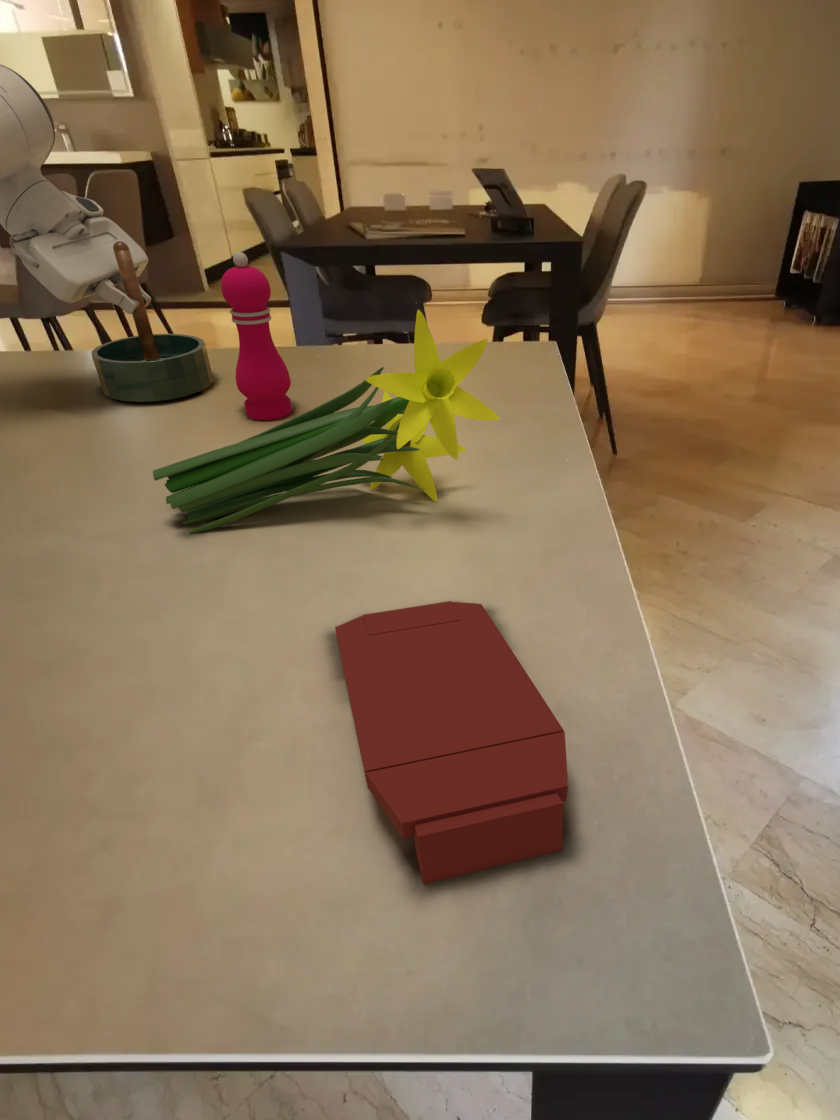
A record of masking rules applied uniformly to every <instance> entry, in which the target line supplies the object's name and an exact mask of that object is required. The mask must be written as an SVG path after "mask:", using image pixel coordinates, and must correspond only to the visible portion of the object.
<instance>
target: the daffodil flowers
mask: <svg viewBox="0 0 840 1120" xmlns="http://www.w3.org/2000/svg"><path fill="white" fill-rule="evenodd" d="M413 341H414V342H413V343H414V344H413V356H414V357H413V359H414V360H413V361H414V372H387V373H382V372H383V371H384V369H385V367H384V366H382V367H380V368H379V369H377V370H376V371H375V372H373V373H372V374H371V375H369V376H368V377H367V378H365V379H364V380H363V381H362V382H360V383H359V384H356V385H355V386H354V387H351V388H350V389H349V390H347V391H346V392H344V393H342V394H340V395H338V396H336V397H334V398H332V399H329V400H328V401H325V402H324V403H322V404H320V405H318V406H316V407H313V408H311V409H310V410H308V411H305V412H304V413H301V414H299V415H297V416H294V417H293V418H291V419H288V420H286V421H284V422H281V423H279V424H278V425H276V426H275V425H274V426H272V427H271V428H269V429H266V430H264V431H262V432H261V433H258V434H255V435H253V436H251V437H247V438H246V439H244V440H241V441H239V442H237V443H233V444H229V445H226V446H224V447H221V448H217V449H214V450H211V451H207V452H203V453H202V454H201V453H200V454H198V455H195V456H193V457H189V458H187V459H184V460H180V461H177V462H175V463H171V464H168V465H165V466H162V467H160V468H156V469H153V470H152V477H153V480H154V481H159V480H162V479H164V478H167V480H165V483H164V484H163V485H164V487H165V488H166V489H167V491H169V493H171V494H169V495H167V496H166V497H165V503H166V505H169V504H170V507H171V509H172V510H174V509H177V508H178V509H179V511H180V512H181V513H184V512H186V514H187V520H184V521H182V525H184V526H189V525H193V524H197V523H203V522H208V521H210V520H213V519H216V518H219V519H217V520H214V521H212V522H209V523H207V524H204V525H201V526H199V527H196V528H194V529H191V530H188V534H190V535H192V534H197V533H203V532H206V531H211V530H214V529H217V528H220V527H222V526H225V525H227V524H230V523H233V522H236V521H237V520H240V519H242V518H245V517H247V516H249V515H252V514H255V513H257V512H259V511H261V510H264V509H266V508H269V507H271V506H273V505H275V504H279V503H280V502H283V501H285V500H287V499H290V498H292V497H297V496H298V497H299V496H302V495H306V494H307V495H308V494H313V493H316V492H322V491H325V490H330V489H336V488H341V487H348V486H356V485H363V484H367V483H370V485H369V487H368V490H370V491H373V490H375V489H377V487H379V486H380V485H381V484H383V483H391V484H397V485H400V486H401V485H403V486H407V487H410V488H413V489H417V490H421V491H423V492H424V493H425V494H426V495H427V496H428V497H429V498H431V499H432V501H434V502H435V503H436V502H437V500H438V494H437V490H436V486H435V481H434V477H433V474H432V472H431V469H430V467H429V464H428V462H427V459H430V458H438V457H439V458H440V457H447V456H450V457H451V458H452V459H453V460H455V461H458V459H459V458H458V457H459V454H462V453H465V452H466V451H467V449H466V448H465V447H463V446H462V445H460V444H459V443H458V435H457V426H456V420H455V416H459V417H462V418H465V419H468V420H475V421H489V422H490V421H498V420H500V419H501V417H500V416H499V415H498V414H497V413H496V412H495V411H494V410H492V409H491V408H490V407H489V406H487V404H485V403H484V402H483V401H481V400H480V399H479V398H477V397H476V396H474V395H473V394H471V393H469V392H468V391H467V390H465V389H464V388H462V387H460V386H459V384H460V383H461V382H462V381H463V380H464V379H465V378H466V377H467V376H468V374H470V372H471V371H472V370H473V369H474V368H475V366H476V364H477V363H478V362H479V360H480V358H481V357H482V355H483V353H484V351H485V350H486V347H487V345H488V342H489V338H483V339H481V340H478V341H476V342H474V343H472V344H469V345H467V346H466V347H464V348H462V349H460V350H458V351H456V352H455V353H453V354H451V355H449V356H448V357H447V358H445V359H443V360H441V359H440V355H439V353H438V348H437V345H436V342H435V339H434V336H433V334H432V332H431V330H430V328H429V325H428V322H427V319H426V317H425V316H424V314H423V312H422V311H421V310H420V309H417V310H416V316H415V326H414V340H413ZM372 386H374V387H375V388H374V389H373V390H372V392H371V393H370V394H369V395H368V397H366V399H364V401H363V402H362V403H361V404H360V405H359V406H358V407H351V408H348V409H347V408H346V407H348V406H349V405H352V404H353V403H355V402H356V401H357V400H358V399H359V398H361V397H362V396H363V395H365V393H366V392H367V391H368V390H369V389H370V388H371V387H372ZM379 389H380V390H381V391H384V392H383V395H382V401H381V402H380V403H376V404H374V405H369V404H370V402H372V400H373V398H374V397H375V395H376V394H377V392H378V390H379ZM390 394H391V395H393V396H396V397H394V398H392V396H391V395H390ZM344 408H346V409H344ZM342 409H344V410H342ZM429 424H430V426H431V429H432V430H433V433H434V435H435V436H433V435H428V434H427V435H426V434H425V433H426V430H427V427H428V425H429ZM383 427H385V428H383ZM360 441H361V442H363V444H362V445H359V446H356V447H352V448H349V449H345V450H342V451H339V450H341V449H344V448H346V447H349V446H351V445H353V444H355V443H356V444H357V443H358V442H360ZM336 451H338V452H336ZM334 452H335V453H334ZM331 453H332V454H331ZM328 454H329V455H328ZM380 454H383V455H380ZM375 461H376V462H377V461H379V463H378V464H377V467H376V469H375V471H373V470H367V469H359V468H361V467H363V466H364V465H366V464H367V463H368V462H375ZM341 467H342V468H341ZM401 467H403V468H404V470H405V471H406V472H407V474H408V475H409V476H410V477H411V479H412V480H413V481H414V483H416V485H417V486H416V485H414V484H412V483H409V482H407V481H403V480H400V479H397V478H394V477H393V475H394V474H396V473H397V472H398V470H400V469H401ZM339 468H340V469H339ZM337 469H338V470H337ZM333 470H335V471H333ZM330 471H333V472H330ZM327 472H330V473H327ZM325 473H326V474H325ZM352 478H353V479H352ZM340 480H341V481H340ZM228 514H230V515H228ZM223 516H224V517H223ZM220 517H221V518H220Z"/></svg>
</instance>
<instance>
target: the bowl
mask: <svg viewBox="0 0 840 1120" xmlns="http://www.w3.org/2000/svg"><path fill="white" fill-rule="evenodd" d="M153 336H154V340H155V343H156V347H157V350H158V354H159V358H164V359H157V360H148V361H142V360H146V359H145V357H144V353H143V350H142V346H141V343H140V340H139V336H138V335H134V336H128V337H123V338H119V339H114V340H111V341H108V342H105V343H103V344H100V345H98V346H96V347H95V348H94V349H92V350H91V358H92V362H93V364H94V367H95V370H96V373H97V376H98V379H99V383H100V385H101V388H102V391H103V394H104V395H105V396H107V397H109V398H111V399H114V400H118V401H121V402H122V401H123V402H131V403H160V402H168V401H173V400H174V401H175V400H179V399H182V398H187V397H189V396H192V395H194V394H196V393H198V392H202V391H204V390H205V389H208V387H210V386H211V385H212V384H213V382H214V376H213V372H212V368H211V363H210V358H209V353H208V350H207V347H206V343H205V341H204V339H202V338H200V337H198V336H194V335H189V334H184V333H183V334H182V333H153Z"/></svg>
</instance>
